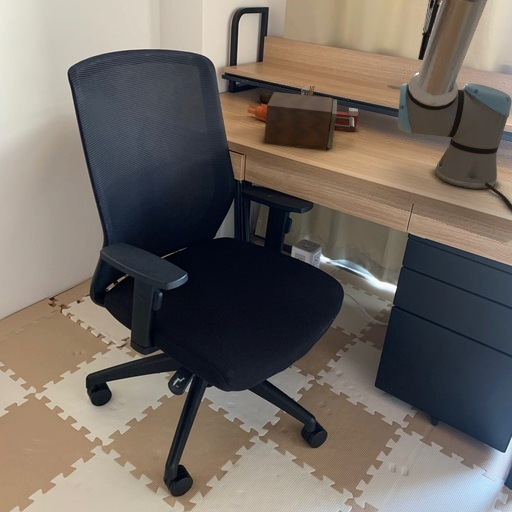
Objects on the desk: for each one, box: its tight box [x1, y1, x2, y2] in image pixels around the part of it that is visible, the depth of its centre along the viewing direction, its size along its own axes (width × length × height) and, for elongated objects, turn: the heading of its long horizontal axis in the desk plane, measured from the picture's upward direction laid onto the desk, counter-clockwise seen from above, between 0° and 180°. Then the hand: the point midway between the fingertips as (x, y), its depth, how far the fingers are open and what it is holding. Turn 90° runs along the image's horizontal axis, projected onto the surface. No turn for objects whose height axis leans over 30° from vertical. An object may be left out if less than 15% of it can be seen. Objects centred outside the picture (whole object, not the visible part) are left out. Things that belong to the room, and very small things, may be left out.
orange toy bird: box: [247, 102, 268, 122], centre depth 173 cm, size 5×8×12 cm
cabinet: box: [263, 91, 333, 151], centre depth 156 cm, size 18×17×11 cm
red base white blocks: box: [334, 107, 359, 133], centre depth 169 cm, size 7×3×6 cm, turn 82°
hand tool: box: [259, 91, 273, 105], centre depth 186 cm, size 19×4×5 cm, turn 37°
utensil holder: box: [300, 85, 315, 96], centre depth 174 cm, size 6×6×12 cm
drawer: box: [326, 98, 354, 149], centre depth 156 cm, size 24×17×10 cm
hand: (423, 59), depth 150 cm, fingers closed
